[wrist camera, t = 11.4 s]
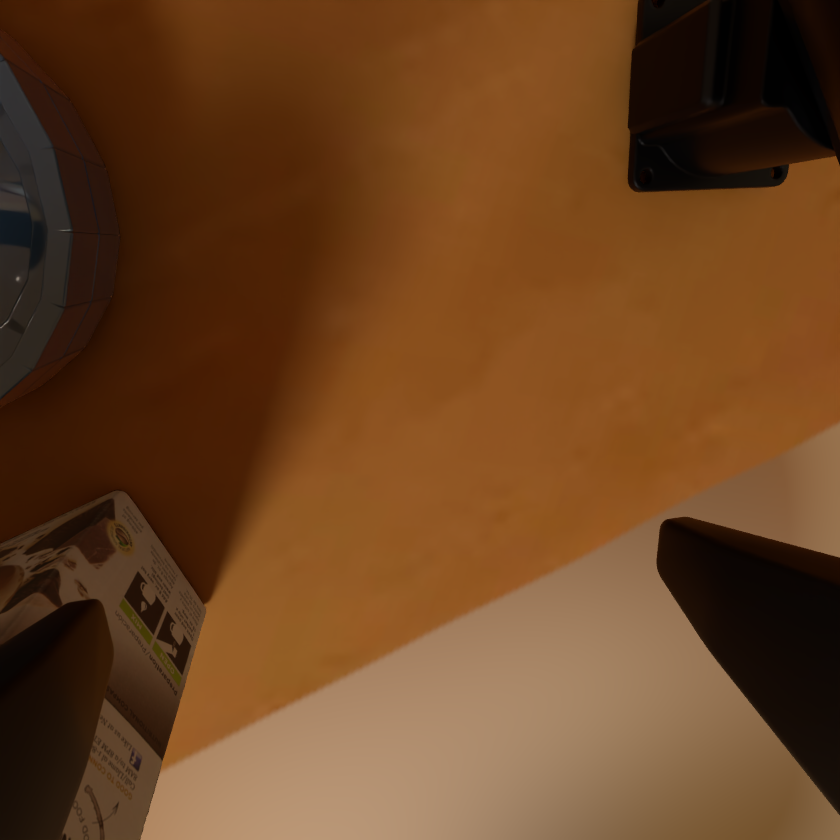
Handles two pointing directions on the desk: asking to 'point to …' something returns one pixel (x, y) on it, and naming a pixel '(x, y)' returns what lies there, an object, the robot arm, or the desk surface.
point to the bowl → (48, 227)
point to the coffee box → (132, 639)
